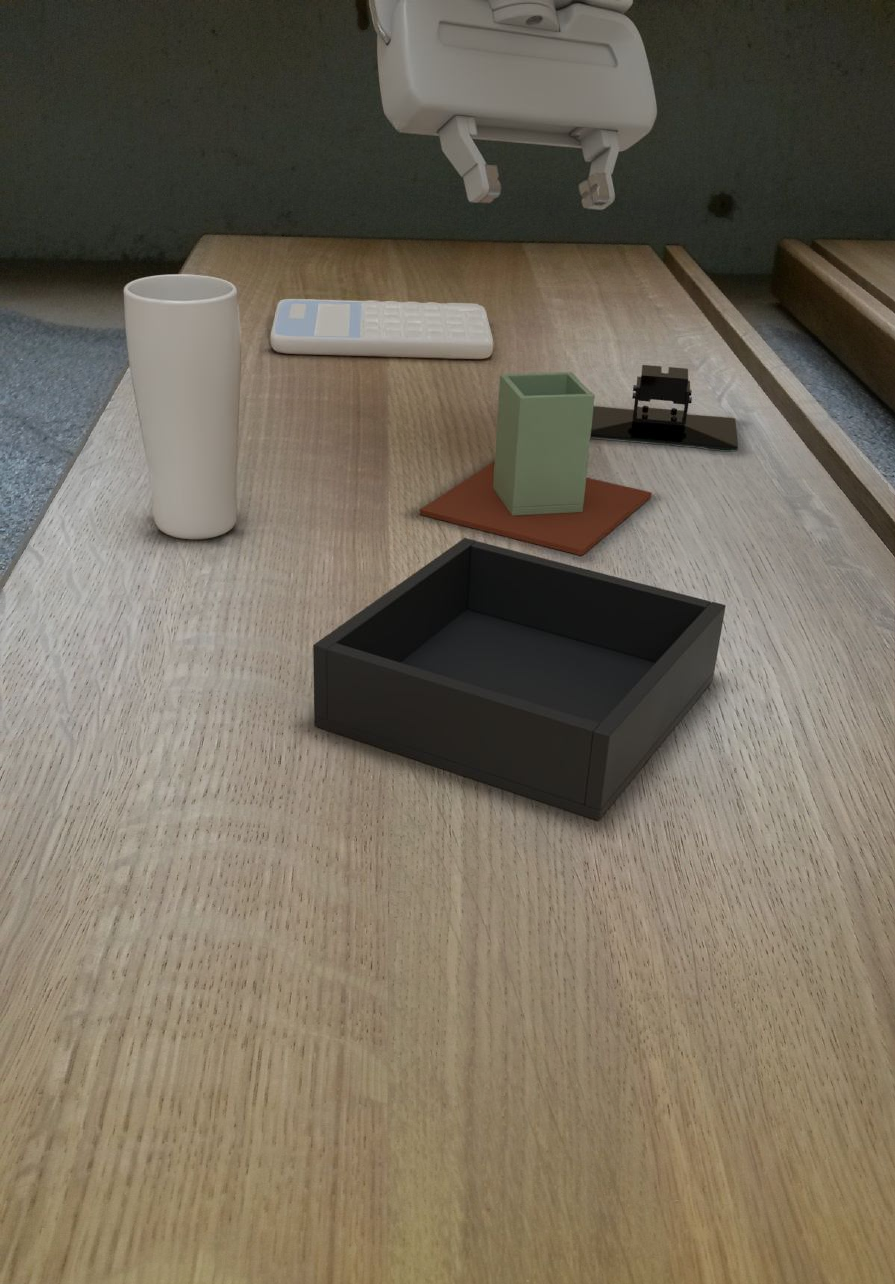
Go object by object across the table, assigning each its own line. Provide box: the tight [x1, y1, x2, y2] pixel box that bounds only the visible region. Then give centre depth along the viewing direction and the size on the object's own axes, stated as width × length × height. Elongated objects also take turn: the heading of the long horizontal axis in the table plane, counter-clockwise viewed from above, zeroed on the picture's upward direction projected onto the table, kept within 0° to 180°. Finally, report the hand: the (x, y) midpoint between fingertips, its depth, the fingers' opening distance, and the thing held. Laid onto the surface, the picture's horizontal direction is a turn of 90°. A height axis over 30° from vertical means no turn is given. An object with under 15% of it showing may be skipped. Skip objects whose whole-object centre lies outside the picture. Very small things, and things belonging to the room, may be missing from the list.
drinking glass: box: [122, 273, 242, 540], centre depth 84 cm, size 7×7×15 cm
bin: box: [312, 537, 727, 821], centre depth 70 cm, size 16×16×5 cm
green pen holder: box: [493, 371, 596, 516], centre depth 91 cm, size 5×5×8 cm
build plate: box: [590, 364, 739, 452], centre depth 107 cm, size 12×7×5 cm, turn 82°
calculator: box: [269, 298, 494, 360], centre depth 126 cm, size 13×20×2 cm, turn 92°
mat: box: [419, 460, 652, 557], centre depth 93 cm, size 12×12×1 cm
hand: (544, 202), depth 88 cm, fingers open, 8 cm apart
